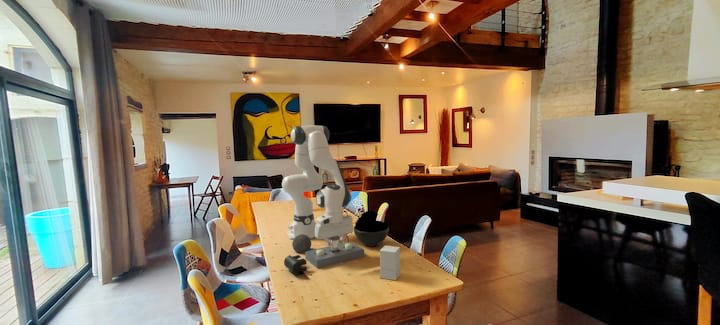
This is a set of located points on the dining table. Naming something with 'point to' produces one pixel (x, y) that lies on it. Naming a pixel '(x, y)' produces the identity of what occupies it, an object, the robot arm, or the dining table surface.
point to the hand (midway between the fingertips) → (334, 244)
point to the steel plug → (334, 244)
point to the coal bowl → (370, 229)
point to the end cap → (295, 264)
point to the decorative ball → (301, 243)
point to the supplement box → (390, 262)
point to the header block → (334, 255)
